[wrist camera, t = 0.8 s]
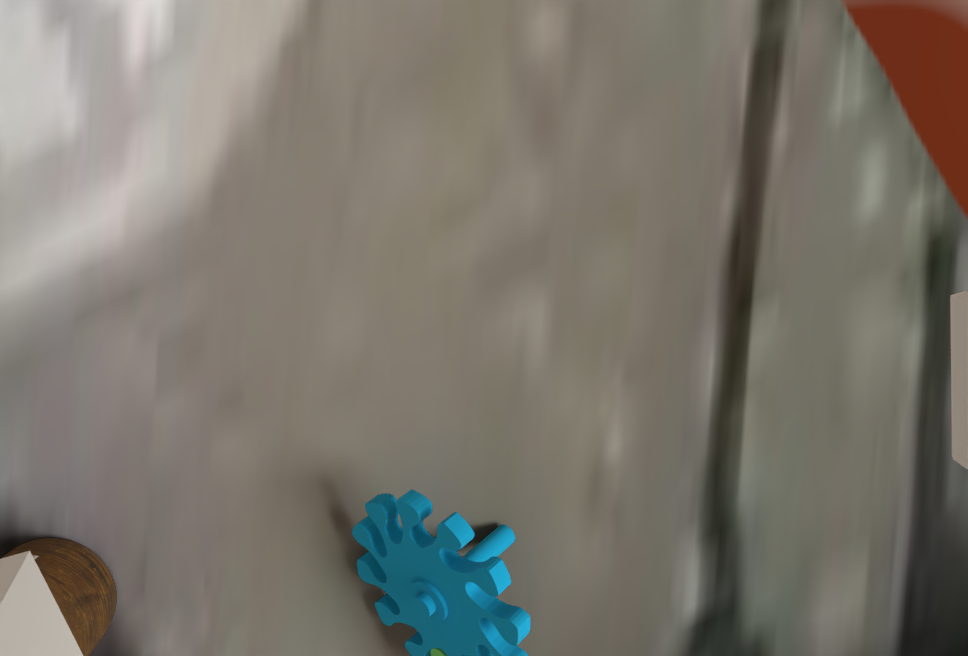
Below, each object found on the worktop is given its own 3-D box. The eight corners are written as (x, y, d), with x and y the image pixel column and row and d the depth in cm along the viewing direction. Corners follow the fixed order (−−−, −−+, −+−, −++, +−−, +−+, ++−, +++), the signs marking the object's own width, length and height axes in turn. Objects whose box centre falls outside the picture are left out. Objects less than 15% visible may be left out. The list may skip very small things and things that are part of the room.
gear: (319, 483, 39) (484, 539, 32) (411, 423, 43) (575, 463, 36) (377, 676, 42) (535, 763, 36) (457, 605, 46) (613, 671, 40)
